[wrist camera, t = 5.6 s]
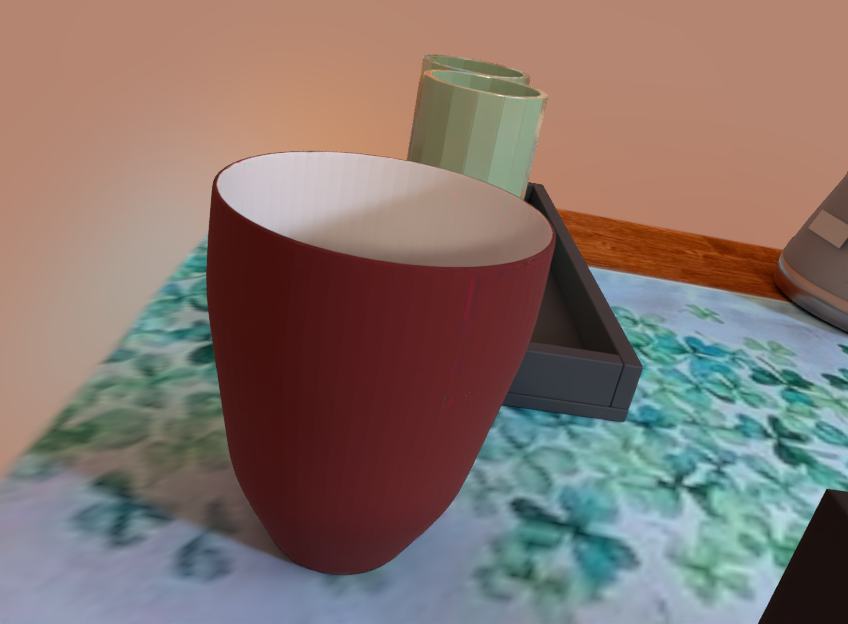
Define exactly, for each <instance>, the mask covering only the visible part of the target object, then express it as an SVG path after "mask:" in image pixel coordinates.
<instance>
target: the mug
mask: <svg viewBox="0 0 848 624" xmlns="http://www.w3.org/2000/svg"><path fill="white" fill-rule="evenodd" d="M211 196H212V197H211V208H210V220H209V232H208V250H207V269H206V281H207V303H208V312H209V320H210V327H211V334H212V341H213V348H214V355H215V361H216V368H217V375H218V382H219V388H220V395H221V402H222V409H223V415H224V422H225V429H226V436H227V442H228V448H229V453H230V458H231V462H232V465H233V468H234V471H235V474H236V477H237V479H238V481H239V484H240V486H241V488H242V490H243V492H244V494H245V496H246V498H247V499H248V501H249V503H250V505H251V506H252V508H253V510H254V511H255V513H256V514H257V516H258V517H259V519H260V520H261V522H262V524H263V525H264V527H265V528H266V530H267V531H268V533H269V534H270V536H271V538H272V539H273V541H274V542H275V544H276V545H277V546H278V547H279V548H280V549H281V550H282V552H283V553H285V554H286V555H287V556H288V557H290V558H291V559H292V560H293V561H295V562H297V563H299V564H301V565H302V566H304V567H306V568H309V569H312V570H315V571H318V572H322V573H328V574H337V575H351V574H359V573H364V572H368V571H371V570H374V569H376V568H379V567H381V566H383V565H384V564H386V563H388V562H389V561H391V560H392V559H394V558H395V557H396V556H397V555H398V554H400V553H401V552H402V551H403V550H404V549H405V548H406V547H408V546H409V545H410V544H411V543H412V542H413V541H414V540H416V539H417V538H418V537H419V536H420V535H421V534H423V533H424V532H425V531H426V530H427V529H428V528H429V527H430V526H431V525H432V524H433V523H434V522H435V521H436V520H437V519H438V518H439V517H440V516H441V515H442V514H443V512H444V511H445V510H446V509H447V508H448V507H449V505H450V504H451V503H452V501H453V500H454V498H455V497H456V495H457V494H458V492H459V491H460V489H461V487H462V485H463V483H464V481H465V480H466V478H467V476H468V474H469V472H470V470H471V468H472V466H473V463H474V461H475V459H476V457H477V455H478V453H479V451H480V449H481V447H482V445H483V442H484V440H485V438H486V436H487V434H488V432H489V430H490V428H491V426H492V424H493V422H494V419H495V417H496V415H497V413H498V411H499V409H500V407H501V405H502V403H503V401H504V399H505V396H506V394H507V392H508V390H509V388H510V386H511V384H512V382H513V380H514V378H515V375H516V373H517V371H518V369H519V367H520V365H521V362H522V360H523V358H524V355H525V353H526V350H527V348H528V345H529V342H530V339H531V336H532V333H533V330H534V327H535V324H536V321H537V318H538V314H539V310H540V306H541V302H542V298H543V294H544V290H545V287H546V282H547V278H548V274H549V269H550V265H551V260H552V256H553V252H554V247H555V241H556V234H555V230H554V228H553V226H552V224H551V223H550V221H549V220H548V219H547V218H546V217H545V216H544V215H543V214H542V213H541V212H540V211H539V210H538V209H536V208H535V207H534V206H532V205H531V204H529V203H528V202H526V201H524V200H523V199H521V198H519V197H517V196H516V195H514V194H512V193H510V192H508V191H505V190H503V189H501V188H499V187H496V186H494V185H491V184H489V183H486V182H484V181H481V180H478V179H475V178H472V177H469V176H466V175H463V174H460V173H456V172H453V171H449V170H446V169H442V168H438V167H434V166H430V165H426V164H421V163H416V162H411V161H406V160H401V159H395V158H389V157H382V156H375V155H367V154H358V153H346V152H329V151H328V152H327V151H292V152H280V153H270V154H264V155H258V156H254V157H249V158H246V159H242V160H239V161H237V162H234V163H232V164H230V165H228V166H227V167H225V168H224V169H223V170H221V171H220V172H219V173H218V174H217V175H216V177H215V179H214V181H213V186H212V195H211Z"/></svg>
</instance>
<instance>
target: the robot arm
mask: <svg viewBox="0 0 848 624" xmlns="http://www.w3.org/2000/svg"><path fill="white" fill-rule="evenodd" d="M773 279H774V281H775V283H776V285H777V286H778V287H779V289H780V290H781V291H782V292H783V293H784V294H785V295H786V296H787V297H789V298H790V299H791V300H792V301H794V302H795V303H796V304H798V305H799V306H801V307H802V308H804V309H805V310H807V311H809V312H810V313H812V314H814V315H815V316H817V317H819V318H821V319H822V320H824V321H826V322H828V323H830V324H832V325H834V326H836V327H838V328H840V329H842V330H845V331H847V332H848V172H847V174H846V175H845V177H844V178H843V179H842V181H841V182H840V183H839V184H838V185H837V186H836V187H835V189H834V190H833V191H832V192H831V193H830V194H829V195H828V197H827V198H826V199H825V200H824V201H823V202H822V204H821V205H820V206H819V207H818V208H817V210H816V211H815V212H814V213H813V214H812V215H811V217H810V218H809V219H808V220H807V221H806V223H805V224H804V225H803V226H802V228H801V229H800V230H799V232H798V233H797V234H796V235H795V236H794V237H793V238H792V239H791V240H790V241H789V242H788V244H787V246H786V247H785V248H784V249H783V251H782V253H781V256H780V258H779V261H778V263H777V266H776V268H775V270H774V273H773ZM758 624H848V492H846V491H838V490H831V489H826V491H825V493H824V495H823V497H822V499H821V501H820V503H819V505H818V507H817V509H816V511H815V513H814V515H813V517H812V519H811V521H810V523H809V525H808V527H807V528H806V530H805V532H804V534H803V536H802V538H801V540H800V542H799V544H798V546H797V548H796V550H795V552H794V554H793V556H792V558H791V560H790V562H789V564H788V566H787V568H786V570H785V572H784V574H783V576H782V578H781V580H780V582H779V584H778V585H777V587H776V589H775V591H774V593H773V595H772V597H771V599H770V601H769V603H768V605H767V607H766V609H765V611H764V613H763V615H762V617H761V619H760V621H759V623H758Z"/></svg>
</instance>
